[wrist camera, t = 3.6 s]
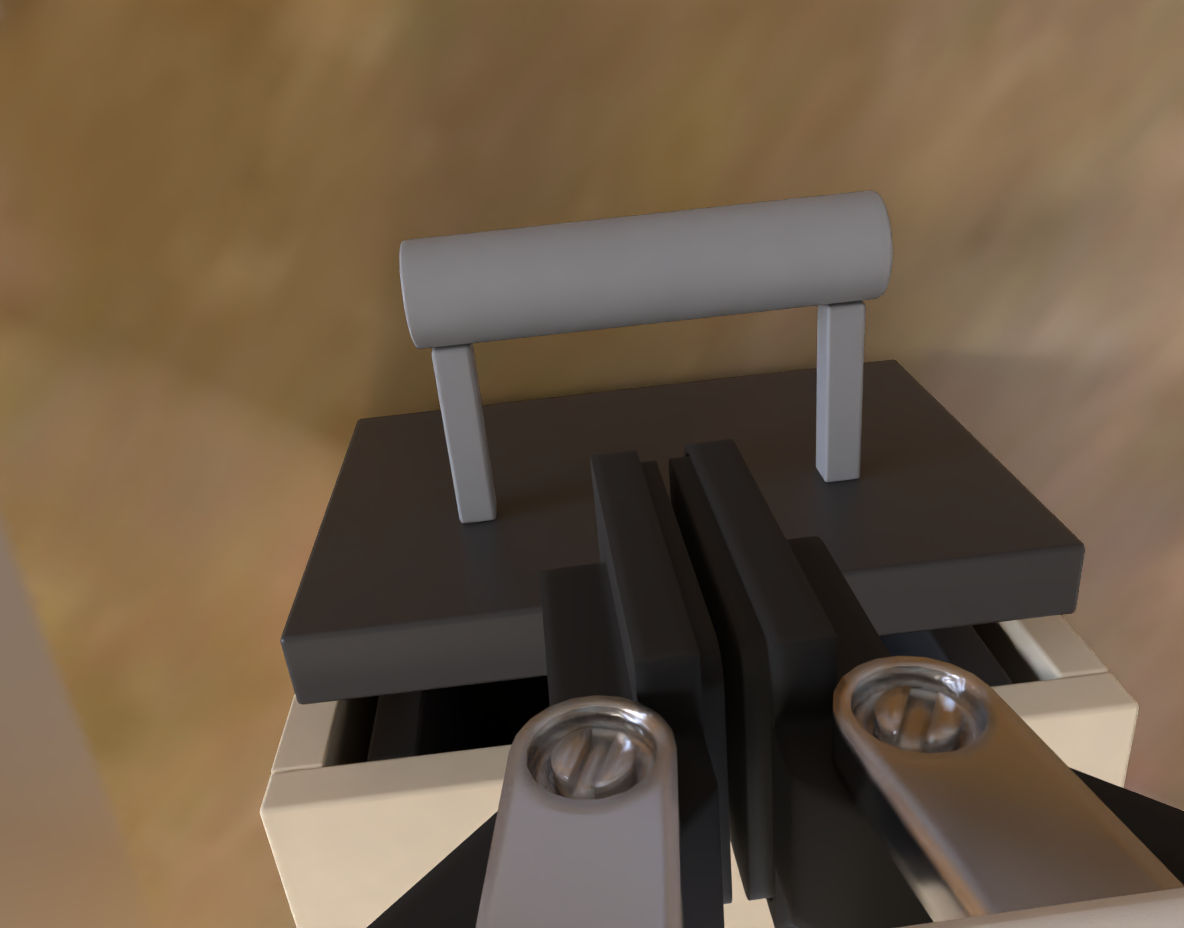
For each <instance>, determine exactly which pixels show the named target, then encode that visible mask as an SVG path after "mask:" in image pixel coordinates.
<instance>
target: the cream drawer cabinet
mask: <svg viewBox="0 0 1184 928" xmlns="http://www.w3.org/2000/svg"><path fill="white" fill-rule="evenodd" d="M972 627H973V628H974V629H975V631H976V632H977V634H978V635H979V636H980V638H981V639H982V641H983V642H984V643H985V645H986V646H987V648H988V649H989V650H990V652H991V653H992V654H993V656H994V657H995V659H996V660H997V661H998V663H999V664H1000V666H1001V667H1002V668H1003V670H1004V671H1005V673H1006V674H1007V675H1008V677H1009V678H1010V680H1011V681H1012V683H1013V684H1009V685H1001V686H992V687H991V688H992V689H993V690H994V691H995V692H996V693H997V694H998V695H999V696H1000V697H1001V698H1002V699H1003V700H1004V701H1005V702H1006V703H1007V704H1008V705H1009V706H1010V707H1011V708H1012V709H1013V710H1014V711H1015V712H1016V713H1017V714H1018V715H1019V716H1020V717H1021V718H1022V719H1023V720H1024V721H1025V722H1026V724H1027V725H1028V726H1029V727H1030V728H1031V729H1032V730H1033V731H1034V732H1035V733H1036V734H1037V735H1038V736H1039V737H1040V738H1041V739H1042V740H1043V741H1044V742H1045V743H1046V744H1047V745H1048V746H1049V747H1050V748H1051V749H1052V750H1053V751H1054V752H1055V753H1056V754H1057V755H1058V756H1059V757H1060V758H1061V760H1062V761H1063V762H1064V763H1065V764H1066V765H1067V766H1068V767H1070V768H1073V769H1075V770H1078V771H1080V772H1083V773H1086V774H1088V775H1091V776H1093V777H1096V778H1099V779H1101V780H1104V781H1106V782H1109V783H1112V784H1114V785H1117V786H1119V787H1122V788H1124V783H1125V777H1126V772H1127V767H1128V762H1129V757H1130V752H1131V747H1132V741H1133V736H1134V731H1135V726H1136V721H1137V716H1138V711H1139V706H1138V703H1137V701H1136V700H1135V699H1134V698H1133V697H1132V696H1131V694H1130V693H1129V692H1128V691H1127V690H1126V689H1125V688H1124V686H1123V685H1122V684H1121V683H1120V682H1119V681H1118V680H1117V678H1116V677H1115V676H1114V675H1113V674H1111V673H1109V671H1108V668H1107V667H1106V666H1105V664H1104V663H1103V662H1102V661H1101V660H1100V659H1099V658H1098V656H1097V655H1096V654H1095V653H1094V652H1093V651H1092V650H1091V648H1090V647H1089V646H1088V645H1087V644H1086V643H1085V642H1084V640H1083V639H1082V638H1081V637H1080V636H1079V635H1078V633H1077V632H1076V631H1075V630H1074V629H1073V628H1072V627H1071V625H1070V624H1069V623H1068V622H1067V621H1066V620H1065V619H1064V617H1063V616H1062V615H1054V616H1046V617H1037V618H1029V619H1020V620H1012V621H1004V622H995V623H987V624H978V625H972ZM378 698H379V696H372V697H364V698H355V699H347V700H338V701H330V702H321V703H313V704H305V705H302V704H299V703H298V702H297V699H296V695H295V694H294V697H293V701H292V704H291V707H290V711H289V714H288V717H287V720H286V724H285V727H284V730H283V733H282V737H281V740H280V743H279V746H278V750H277V753H276V756H275V759H274V763H273V766H272V769H271V773H272V775H271V776H270V779H269V782H268V786H267V789H266V792H265V795H264V799H263V802H262V805H261V808H260V815H261V818H262V821H263V824H264V827H265V830H266V834H267V837H268V840H269V843H270V846H271V849H272V852H273V855H274V859H275V862H276V865H277V868H278V871H279V874H280V877H281V880H282V883H283V887H284V890H285V893H286V896H287V899H288V902H289V905H290V908H291V912H292V915H293V918H294V921H295V924H296V927H297V928H366V927H368V926H369V925H370V924H371V923H372V922H373V921H374V920H375V919H377V918H378V917H379V916H380V915H381V914H382V913H383V912H384V911H386V910H387V909H388V908H389V907H390V906H391V905H392V904H393V903H395V902H396V901H397V900H398V899H399V898H400V897H401V896H402V895H404V894H405V893H406V892H407V891H408V890H409V889H410V888H411V887H413V886H414V885H415V884H416V883H417V882H418V881H419V880H420V879H422V878H423V877H424V876H425V875H426V874H427V873H428V872H429V871H431V870H432V869H433V868H434V867H435V866H436V865H437V864H438V863H440V862H441V861H442V860H443V859H444V858H445V857H446V856H447V855H449V854H450V853H451V852H452V851H453V850H454V849H455V848H456V847H458V846H459V845H460V844H461V843H462V842H463V841H464V840H465V839H467V838H468V837H469V836H470V835H471V834H472V833H473V832H474V831H476V830H477V829H478V828H479V827H480V826H481V825H482V824H483V823H485V822H486V821H487V820H488V819H489V818H490V817H491V816H492V815H494V814H495V813H496V812H497V811H498V806H499V801H500V796H501V791H502V785H503V780H504V775H505V769H506V764H507V759H508V754H509V751H510V748H511V746H512V744H511V745H503V746H494V747H486V748H478V749H469V750H461V751H453V752H444V753H436V754H428V755H420V756H411V757H403V758H395V759H386V760H378V761H370V762H367V756H368V751H369V746H370V740H371V735H372V730H373V724H374V719H375V714H376V708H377V703H378ZM730 847H731V873H732V903H729V904H724V927H725V928H775V927H774V924H773V920H772V917H771V914H770V910H769V907H768V904H767V900H766V898H765V899H758V900H751V901H749V900H748V899H747V897H746V894H745V891H744V888H743V885H742V881H741V877H740V874H739V870H738V867H737V863H736V859H735V856H734V852H733V849H732V845H731V841H730Z"/></svg>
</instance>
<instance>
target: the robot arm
mask: <svg viewBox="0 0 1184 928" xmlns="http://www.w3.org/2000/svg"><path fill="white" fill-rule="evenodd" d="M591 472H592V482H593V492H594V502H595V512H596V522H597V532H598V542H599V552H600V562H601V563H594V564H586V565H578V566H570V567H562V568H554V569H546V570H539V576H540V589H541V602H542V614H543V627H544V640H545V652H546V665H547V678H548V690H549V703H550V707H548V708H546V709H545V710H543V711H542V712H540V713H539V714H537V715H536V716H534V717H532V718H531V719H530V720H529V721H528V722H527V723H526V724H525V725H524V726H523V727H522V729H521V730H520V731H519V732H518V733H517V734H516V736H515V738H514V741H513V743H512V746H511V748H510V751H509V754H508V759H507V764H506V769H505V775H504V780H503V785H502V791H501V796H500V801H499V806H498V811H497V812H496V813H495V814H494V815H492V816H491V817H490V818H489V819H488V820H487V821H486V822H485V823H483V824H482V825H481V826H480V827H479V828H478V829H477V830H476V831H474V832H473V833H472V834H471V835H470V836H469V837H468V838H467V839H465V840H464V841H463V842H462V843H461V844H460V845H459V846H458V847H456V848H455V849H454V850H453V851H452V852H451V853H450V854H449V855H447V856H446V857H445V858H444V859H443V860H442V861H441V862H440V863H438V864H437V865H436V866H435V867H434V868H433V869H432V870H431V871H429V872H428V873H427V874H426V875H425V876H424V877H423V878H422V879H420V880H419V881H418V882H417V883H416V884H415V885H414V886H413V887H411V888H410V889H409V890H408V891H407V892H406V893H405V894H404V895H402V896H401V897H400V898H399V899H398V900H397V901H396V902H395V903H393V904H392V905H391V906H390V907H389V908H388V909H387V910H386V911H384V912H383V913H382V914H381V915H380V916H379V917H378V918H377V919H375V920H374V921H373V922H372V923H371V924H370V925H369V926H368V927H366V928H725V927H724V904H729V903H732V873H731V847H730V841H731V845H732V849H733V852H734V856H735V859H736V863H737V867H738V870H739V874H740V877H741V881H742V885H743V888H744V891H745V894H746V897H747V899H748V900H749V901H751V900H758V899H765V898H766V900H767V904H768V907H769V910H770V914H771V917H772V920H773V924H774V927H775V928H1184V811H1182V810H1179V809H1177V808H1174V807H1171V806H1169V805H1166V804H1164V803H1161V802H1158V801H1156V800H1153V799H1151V798H1148V797H1145V796H1143V795H1140V794H1138V793H1135V792H1132V791H1130V790H1127V789H1125V788H1122V787H1119V786H1117V785H1114V784H1112V783H1109V782H1106V781H1104V780H1101V779H1099V778H1096V777H1093V776H1091V775H1088V774H1086V773H1083V772H1080V771H1078V770H1075V769H1073V768H1070V767H1068V766H1067V765H1066V764H1065V763H1064V762H1063V761H1062V760H1061V758H1060V757H1059V756H1058V755H1057V754H1056V753H1055V752H1054V751H1053V750H1052V749H1051V748H1050V747H1049V746H1048V745H1047V744H1046V743H1045V742H1044V741H1043V740H1042V739H1041V738H1040V737H1039V736H1038V735H1037V734H1036V733H1035V732H1034V731H1033V730H1032V729H1031V728H1030V727H1029V726H1028V725H1027V724H1026V722H1025V721H1024V720H1023V719H1022V718H1021V717H1020V716H1019V715H1018V714H1017V713H1016V712H1015V711H1014V710H1013V709H1012V708H1011V707H1010V706H1009V705H1008V704H1007V703H1006V702H1005V701H1004V700H1003V699H1002V698H1001V697H1000V696H999V695H998V694H997V693H996V692H995V691H994V690H993V689H992V688H991V687H990V686H989V685H987V684H986V683H985V682H983V681H982V680H981V679H980V678H978V677H977V676H976V675H975V674H973V673H970V672H968V671H966V670H964V669H962V668H960V667H958V666H956V665H953V664H951V663H947V662H943V661H939V660H935V659H931V658H927V657H915V656H893V657H892V656H891V655H890V653H889V651H888V650H887V648H886V646H885V645H884V643H883V641H882V640H881V638H880V636H879V635H878V633H877V631H876V630H875V628H874V626H873V625H872V623H871V621H870V619H869V618H868V616H867V614H866V613H865V611H864V609H863V608H862V606H861V604H860V603H859V601H858V599H857V598H856V596H855V594H854V593H853V591H852V589H851V588H850V586H849V584H848V582H847V581H846V579H845V577H844V576H843V574H842V572H841V571H840V569H839V567H838V566H837V564H836V562H835V561H834V559H833V557H832V556H831V554H830V552H829V551H828V549H827V547H826V546H825V544H824V542H823V541H822V540H821V539H820V538H819V537H817V536H810V537H802V538H794V539H786V538H785V536H784V534H783V532H782V531H781V529H780V527H779V525H778V523H777V521H776V519H775V517H774V515H773V514H772V512H771V510H770V508H769V506H768V504H767V502H766V500H765V499H764V497H763V495H762V493H761V491H760V489H759V487H758V485H757V483H756V482H755V480H754V478H753V476H752V474H751V472H750V470H749V468H748V466H747V465H746V463H745V461H744V459H743V457H742V455H741V453H740V451H739V450H738V448H737V446H736V444H735V442H734V441H733V439H726V440H717V441H709V442H701V443H693V444H686V445H685V449H684V457H677V458H670V459H669V483H670V499H671V502H670V499H669V496H668V493H667V491H666V488H665V485H664V482H663V479H662V476H661V473H660V470H659V467H658V464H657V462H656V460H652V461H644V462H640V460H639V456H638V453H637V451H636V450H634V451H626V452H618V453H610V454H601V455H593V456H591Z"/></svg>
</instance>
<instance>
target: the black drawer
mask: <svg viewBox="0 0 1184 928" xmlns="http://www.w3.org/2000/svg"><path fill="white" fill-rule="evenodd" d="M892 257H893V244H892V232H891V225H890V220H889V216H888V212H887V209H886V206H885V204H884V201H883V199H882V198H881V196H880V195H879V194H878V193H877V192H875V191H872V190H868V191H859V192H849V193H840V194H831V195H821V196H812V197H803V198H793V199H784V200H775V201H765V202H756V203H746V204H737V205H728V206H718V207H709V208H700V209H690V210H681V211H672V212H662V213H653V214H643V215H634V216H625V217H615V218H606V219H597V220H587V221H578V222H569V223H559V224H550V225H540V226H531V227H522V228H512V229H503V230H494V231H484V232H475V233H466V234H456V235H447V236H437V237H428V238H419V239H409V240H404V241H402V243H401V246H400V254H399V264H400V279H401V289H402V296H403V303H404V309H405V314H406V319H407V324H408V328H409V332H410V335H411V338H412V341H413V343H414V345H415V346H416V348H418V349H423V348H433V350H432V354H431V355H432V361H433V367H434V372H435V378H436V384H437V390H438V396H439V402H440V408H441V410H437V411H428V412H419V413H410V414H401V415H392V416H383V417H374V418H365V419H360V420H358V422H357V424H356V427H355V430H354V433H353V436H352V439H351V441H350V444H349V447H348V450H347V453H346V455H345V458H344V461H343V464H342V467H341V470H340V472H339V475H338V478H337V481H336V484H335V487H334V489H333V492H332V495H331V498H330V501H329V504H328V506H327V509H326V512H325V515H324V518H323V521H322V523H321V526H320V529H319V532H318V535H317V537H316V540H315V543H314V546H313V549H312V552H311V554H310V557H309V560H308V563H307V566H306V569H305V571H304V574H303V577H302V580H301V583H300V586H299V588H298V591H297V594H296V597H295V600H294V602H293V605H292V608H291V611H290V614H289V617H288V619H287V622H286V625H285V628H284V631H283V634H282V636H281V641H280V642H281V645H282V649H283V652H284V656H285V659H286V663H287V667H288V670H289V674H290V677H291V681H292V684H293V688H294V692H295V695H296V699H297V702H298V703H299V704H302V705H305V704H313V703H321V702H330V701H338V700H347V699H355V698H364V697H372V696H379V698H378V703H377V708H376V714H375V719H374V724H373V730H372V735H371V740H370V746H369V751H368V756H367V762H370V761H378V760H386V759H395V758H403V757H411V756H420V755H428V754H436V753H444V752H453V751H461V750H469V749H478V748H486V747H494V746H503V745H511V744H512V743H513V741H514V738H515V736H516V734H517V733H518V732H519V731H520V730H521V729H522V727H523V726H524V725H525V724H526V723H527V722H528V721H529V720H530V719H531V718H532V717H534V716H536V715H537V714H539V713H540V712H542V711H543V710H545V709H546V708H548V707H550V703H549V690H548V678H547V665H546V652H545V640H544V627H543V614H542V602H541V589H540V576H539V570H546V569H554V568H562V567H570V566H578V565H586V564H594V563H601V562H600V552H599V542H598V532H597V522H596V512H595V502H594V492H593V482H592V472H591V456H593V455H601V454H610V453H618V452H626V451H634V450H636V451H637V453H638V456H639V460H640V462H644V461H652V460H656V462H657V464H658V467H659V470H660V473H661V476H662V479H663V482H664V485H665V488H666V491H667V493H668V496H669V499H670V483H669V459H670V458H677V457H684V449H685V445H686V444H693V443H701V442H709V441H717V440H726V439H733V441H734V442H735V444H736V446H737V448H738V450H739V451H740V453H741V455H742V457H743V459H744V461H745V463H746V465H747V466H748V468H749V470H750V472H751V474H752V476H753V478H754V480H755V482H756V483H757V485H758V487H759V489H760V491H761V493H762V495H763V497H764V499H765V500H766V502H767V504H768V506H769V508H770V510H771V512H772V514H773V515H774V517H775V519H776V521H777V523H778V525H779V527H780V529H781V531H782V532H783V534H784V536H785V538H786V539H794V538H802V537H810V536H817V537H819V538H820V539H821V540H822V541H823V542H824V544H825V546H826V547H827V549H828V551H829V552H830V554H831V556H832V557H833V559H834V561H835V562H836V564H837V566H838V567H839V569H840V571H841V572H842V574H843V576H844V577H845V579H846V581H847V582H848V584H849V586H850V588H851V589H852V591H853V593H854V594H855V596H856V598H857V599H858V601H859V603H860V604H861V606H862V608H863V609H864V611H865V613H866V614H867V616H868V618H869V619H870V621H871V623H872V625H873V626H874V628H875V630H876V631H877V633H878V635H879V636H880V638H881V640H882V641H883V643H884V645H885V646H886V648H887V650H888V651H889V653H890V655H891V656H892V657H893V656H915V657H927V658H931V659H935V660H939V661H943V662H947V663H951V664H953V665H956V666H958V667H960V668H962V669H964V670H966V671H968V672H970V673H973V674H975V675H976V676H977V677H978V678H980V679H981V680H982V681H983V682H985V683H986V684H987V685H989V686H990V687H992V686H1001V685H1009V684H1013V683H1012V681H1011V680H1010V678H1009V677H1008V675H1007V674H1006V673H1005V671H1004V670H1003V668H1002V667H1001V666H1000V664H999V663H998V661H997V660H996V659H995V657H994V656H993V654H992V653H991V652H990V650H989V649H988V648H987V646H986V645H985V643H984V642H983V641H982V639H981V638H980V636H979V635H978V634H977V632H976V631H975V629H974V628H973V627H972V625H978V624H987V623H995V622H1004V621H1012V620H1020V619H1029V618H1037V617H1046V616H1054V615H1063V614H1071V613H1073V612H1075V610H1076V605H1077V598H1078V592H1079V585H1080V579H1081V572H1082V565H1083V559H1084V552H1085V548H1084V544H1083V543H1082V542H1081V541H1080V540H1079V539H1078V538H1077V537H1076V536H1075V535H1074V534H1073V533H1072V532H1071V531H1070V530H1069V529H1068V528H1067V527H1066V526H1065V525H1064V524H1063V523H1062V522H1061V521H1060V520H1059V519H1058V518H1057V517H1056V516H1055V515H1054V514H1052V513H1051V512H1050V511H1049V510H1048V509H1047V508H1046V507H1045V506H1044V505H1043V504H1042V503H1041V502H1040V501H1039V500H1038V499H1037V498H1036V497H1035V496H1034V495H1033V494H1032V493H1031V492H1030V491H1029V490H1028V489H1027V488H1026V487H1025V486H1024V485H1023V484H1022V483H1021V482H1020V481H1019V480H1018V479H1017V478H1016V477H1015V476H1014V475H1013V474H1012V473H1010V472H1009V471H1008V470H1007V469H1006V468H1005V467H1004V466H1003V465H1002V464H1001V463H1000V462H999V461H998V460H997V459H996V458H995V457H994V456H993V455H992V454H991V453H990V452H989V451H988V450H987V449H986V448H985V447H984V446H983V445H982V444H981V443H980V442H979V441H978V440H977V439H976V438H975V437H974V436H973V435H972V434H971V433H970V432H969V431H967V430H966V429H965V428H964V427H963V426H962V425H961V424H960V423H959V422H958V421H957V420H956V419H955V418H954V417H953V416H952V415H951V414H950V413H949V412H948V411H947V410H946V409H945V408H944V407H943V406H942V405H941V404H940V403H939V402H938V401H937V400H936V399H935V398H934V397H933V396H932V395H931V394H930V393H929V392H928V391H927V390H926V389H924V388H923V387H922V386H921V385H920V384H919V383H918V382H917V381H916V380H915V379H914V378H913V377H912V376H911V375H910V374H909V373H908V372H907V371H906V370H905V369H904V368H903V367H902V366H901V365H900V364H899V363H898V362H897V361H896V360H886V361H877V362H868V363H864V336H865V304H864V303H863V302H862V301H861V300H870V299H877V298H879V297H881V296H882V295H883V294H884V292H885V291H886V289H887V286H888V283H889V279H890V275H891V268H892ZM815 305H818V315H817V368H814V369H805V370H796V371H787V372H778V373H769V374H760V375H751V376H742V377H733V378H724V379H715V380H706V381H697V382H688V383H679V384H670V385H661V386H652V387H643V388H634V389H625V390H616V391H607V392H598V393H589V394H580V395H571V396H562V397H553V398H544V399H535V400H526V401H517V402H508V403H500V404H491V405H482V401H481V395H480V388H479V381H478V375H477V368H476V361H475V355H474V348H473V343H478V342H487V341H496V340H506V339H515V338H524V337H533V336H542V335H551V334H560V333H569V332H578V331H588V330H597V329H606V328H615V327H624V326H633V325H642V324H651V323H660V322H670V321H679V320H688V319H697V318H706V317H715V316H724V315H733V314H742V313H752V312H761V311H770V310H779V309H788V308H797V307H806V306H815ZM670 502H671V499H670Z"/></svg>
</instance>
